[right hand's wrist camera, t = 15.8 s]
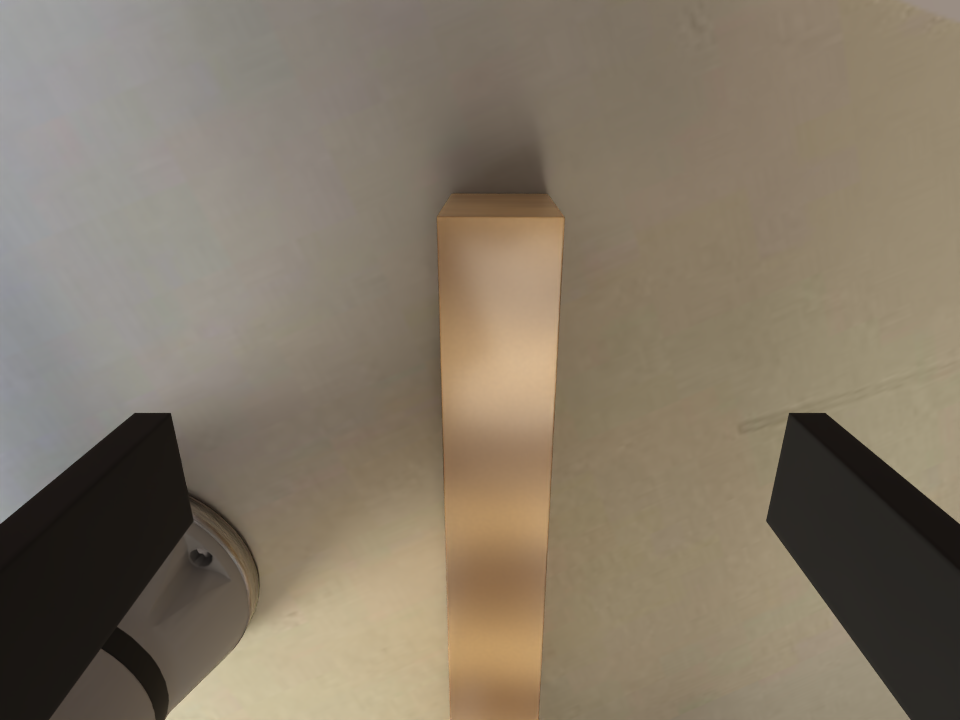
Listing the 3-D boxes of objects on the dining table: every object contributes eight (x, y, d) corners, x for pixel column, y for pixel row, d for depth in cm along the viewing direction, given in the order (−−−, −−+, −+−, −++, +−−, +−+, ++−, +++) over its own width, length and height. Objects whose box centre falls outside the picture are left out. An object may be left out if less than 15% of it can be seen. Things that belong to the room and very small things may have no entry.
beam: (451, 193, 31) (436, 216, 23) (548, 193, 30) (564, 216, 23) (462, 840, 50) (456, 965, 43) (521, 842, 50) (525, 967, 43)
